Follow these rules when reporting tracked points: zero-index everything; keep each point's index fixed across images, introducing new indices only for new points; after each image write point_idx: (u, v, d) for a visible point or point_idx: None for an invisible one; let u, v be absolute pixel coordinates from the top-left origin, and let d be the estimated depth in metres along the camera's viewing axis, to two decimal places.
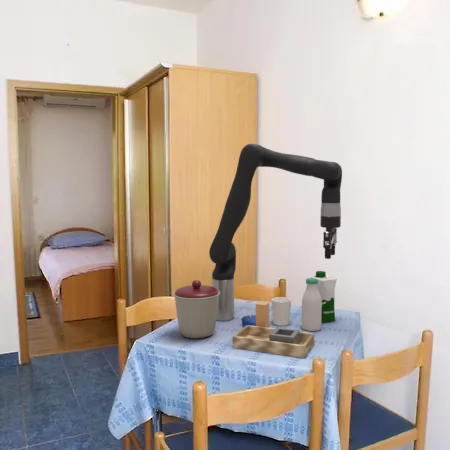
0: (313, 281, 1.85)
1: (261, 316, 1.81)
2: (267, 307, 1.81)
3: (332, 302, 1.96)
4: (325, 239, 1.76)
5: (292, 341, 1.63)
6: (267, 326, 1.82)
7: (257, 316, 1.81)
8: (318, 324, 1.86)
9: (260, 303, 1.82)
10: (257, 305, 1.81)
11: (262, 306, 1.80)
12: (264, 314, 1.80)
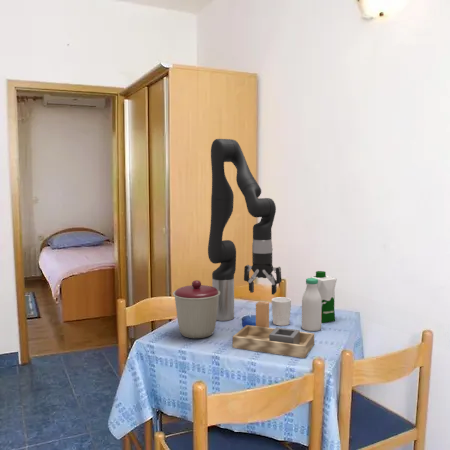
0: (313, 281, 1.85)
1: (261, 316, 1.81)
2: (267, 307, 1.81)
3: (332, 302, 1.96)
4: (279, 275, 1.78)
5: (292, 341, 1.63)
6: (267, 326, 1.82)
7: (257, 316, 1.81)
8: (318, 324, 1.86)
9: (260, 303, 1.82)
10: (257, 305, 1.81)
11: (262, 306, 1.80)
12: (264, 314, 1.80)
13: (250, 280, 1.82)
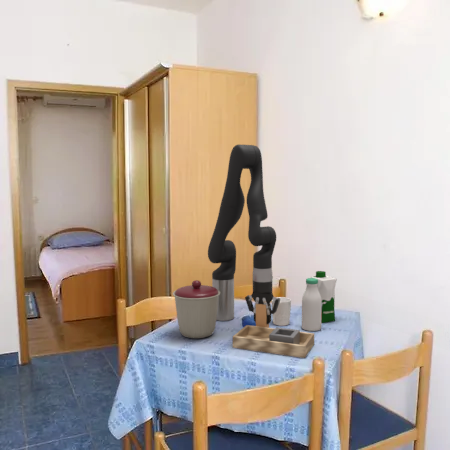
0: (313, 281, 1.85)
1: (261, 316, 1.81)
2: None
3: (332, 302, 1.96)
4: (277, 306, 1.79)
5: (292, 341, 1.63)
6: (267, 326, 1.82)
7: (257, 316, 1.81)
8: (318, 324, 1.86)
9: None
10: (257, 305, 1.81)
11: (262, 306, 1.80)
12: (264, 314, 1.80)
13: (254, 311, 1.82)
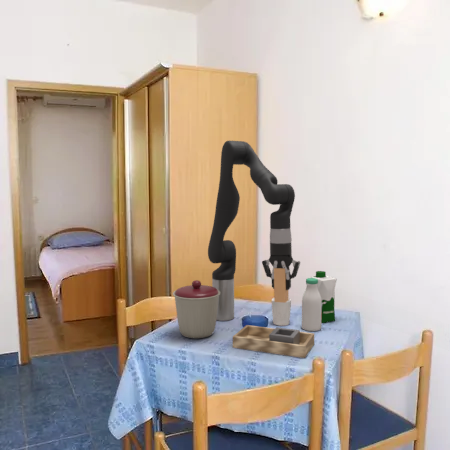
0: (313, 281, 1.85)
1: (280, 281, 1.67)
2: None
3: (332, 302, 1.96)
4: (297, 270, 1.66)
5: (292, 341, 1.63)
6: (286, 292, 1.68)
7: (275, 281, 1.68)
8: (318, 324, 1.86)
9: None
10: (275, 269, 1.67)
11: (280, 270, 1.66)
12: (283, 279, 1.66)
13: (273, 276, 1.69)
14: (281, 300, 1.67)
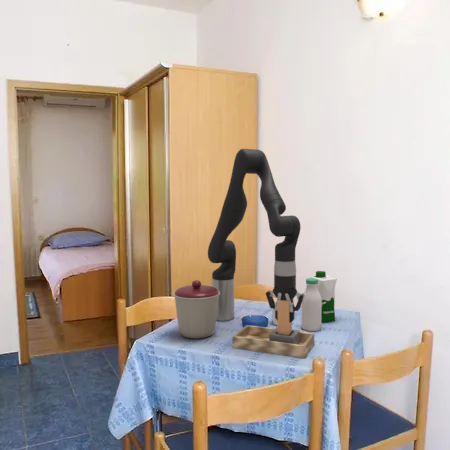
0: (313, 281, 1.85)
1: (283, 313, 1.65)
2: None
3: (332, 302, 1.96)
4: (301, 302, 1.64)
5: (292, 341, 1.63)
6: (290, 324, 1.67)
7: (279, 313, 1.66)
8: (318, 324, 1.86)
9: None
10: (279, 301, 1.66)
11: (284, 302, 1.65)
12: (287, 311, 1.65)
13: (276, 308, 1.67)
14: (284, 332, 1.66)
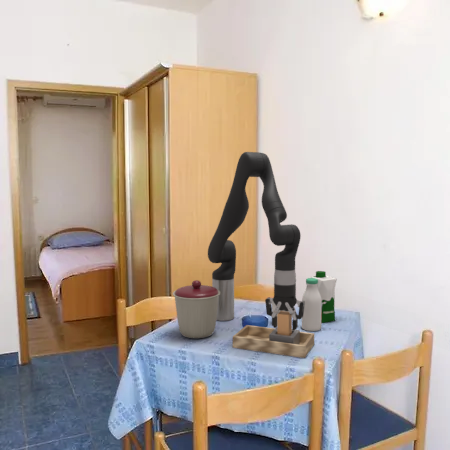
0: (313, 281, 1.85)
1: (283, 327, 1.66)
2: (290, 317, 1.67)
3: (332, 302, 1.96)
4: (302, 310, 1.64)
5: (292, 341, 1.63)
6: None
7: (279, 327, 1.67)
8: (318, 324, 1.86)
9: (282, 313, 1.67)
10: (279, 315, 1.66)
11: (284, 316, 1.65)
12: (287, 325, 1.65)
13: (273, 315, 1.68)
14: None
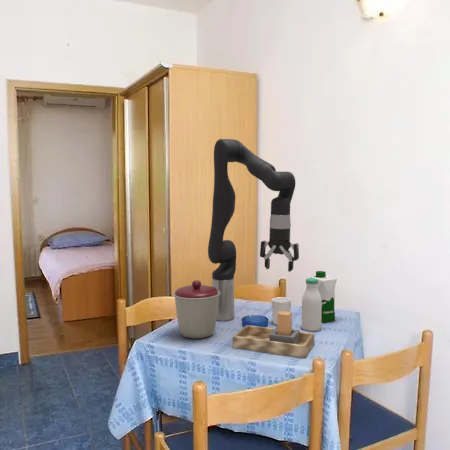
0: (313, 281, 1.85)
1: (283, 327, 1.66)
2: (290, 317, 1.67)
3: (332, 302, 1.96)
4: (297, 251, 1.72)
5: (292, 341, 1.63)
6: None
7: (279, 327, 1.67)
8: (318, 324, 1.86)
9: (282, 313, 1.67)
10: (279, 315, 1.66)
11: (284, 316, 1.65)
12: (287, 325, 1.65)
13: (266, 256, 1.76)
14: None
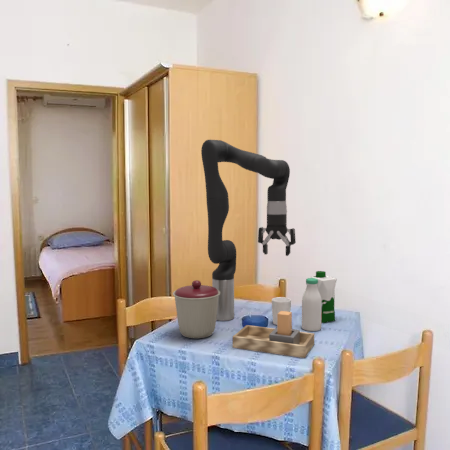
0: (313, 281, 1.85)
1: (283, 327, 1.66)
2: (290, 317, 1.67)
3: (332, 302, 1.96)
4: (294, 236, 1.79)
5: (292, 341, 1.63)
6: None
7: (279, 327, 1.67)
8: (318, 324, 1.86)
9: (282, 313, 1.67)
10: (279, 315, 1.66)
11: (284, 316, 1.65)
12: (287, 325, 1.65)
13: (264, 242, 1.83)
14: None
